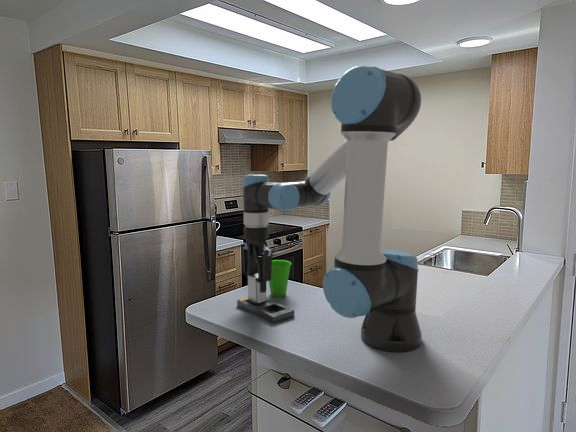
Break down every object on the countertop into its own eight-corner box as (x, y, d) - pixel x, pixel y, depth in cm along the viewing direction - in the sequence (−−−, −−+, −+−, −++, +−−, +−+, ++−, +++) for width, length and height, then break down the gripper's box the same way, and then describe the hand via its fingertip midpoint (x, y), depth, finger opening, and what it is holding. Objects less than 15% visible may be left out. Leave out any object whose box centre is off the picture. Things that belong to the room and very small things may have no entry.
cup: (288, 299, 130) (288, 267, 128) (262, 297, 131) (261, 265, 130) (293, 290, 138) (293, 260, 137) (268, 289, 140) (268, 259, 139)
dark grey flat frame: (294, 316, 116) (294, 309, 115) (273, 323, 110) (273, 316, 110) (257, 300, 129) (257, 294, 129) (237, 306, 124) (237, 299, 123)
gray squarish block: (266, 300, 122) (266, 275, 121) (256, 303, 120) (255, 278, 118) (258, 297, 125) (258, 272, 124) (248, 300, 123) (247, 275, 121)
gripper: (284, 227, 115) (283, 304, 118) (249, 221, 128) (250, 290, 131) (263, 230, 110) (264, 310, 114) (230, 223, 123) (231, 295, 126)
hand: (256, 299), depth 122 cm, fingers closed on gray squarish block, 4 cm apart
